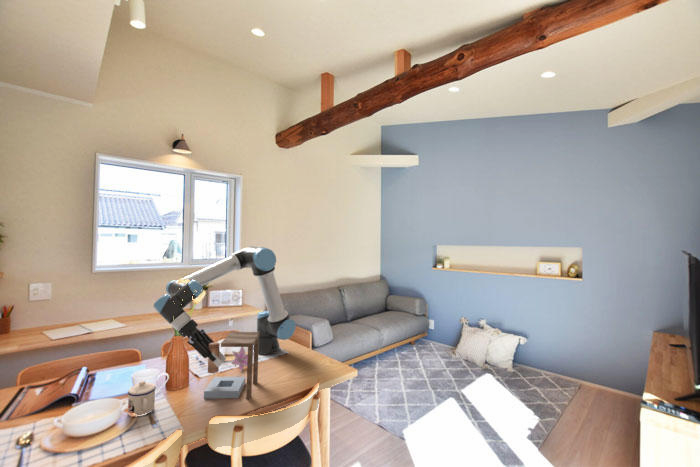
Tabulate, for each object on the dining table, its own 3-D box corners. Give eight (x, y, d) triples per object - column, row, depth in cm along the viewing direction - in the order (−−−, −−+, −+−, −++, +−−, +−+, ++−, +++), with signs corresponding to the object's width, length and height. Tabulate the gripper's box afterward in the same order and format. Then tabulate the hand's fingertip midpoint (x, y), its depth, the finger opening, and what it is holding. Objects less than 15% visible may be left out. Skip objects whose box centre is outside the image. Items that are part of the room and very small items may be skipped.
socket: (214, 383, 154) (214, 376, 154) (245, 383, 156) (245, 376, 156) (203, 398, 140) (203, 391, 140) (237, 398, 142) (238, 391, 142)
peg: (209, 369, 149) (210, 342, 149) (219, 369, 149) (220, 342, 149) (206, 373, 145) (207, 345, 145) (216, 373, 145) (217, 345, 145)
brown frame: (229, 382, 156) (230, 331, 156) (257, 382, 157) (259, 332, 157) (218, 399, 140) (220, 343, 140) (250, 399, 141) (252, 343, 141)
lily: (226, 376, 165) (235, 360, 163) (223, 359, 174) (231, 344, 173) (249, 377, 172) (257, 362, 171) (244, 361, 181) (252, 347, 180)
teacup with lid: (125, 410, 129) (126, 380, 129) (152, 403, 135) (153, 374, 135) (130, 424, 120) (131, 392, 120) (159, 416, 126) (160, 385, 126)
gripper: (186, 325, 154) (221, 361, 156) (169, 337, 137) (209, 377, 138) (198, 313, 155) (234, 349, 156) (183, 324, 137) (223, 364, 139)
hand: (222, 362), depth 147 cm, fingers closed on peg, 4 cm apart
